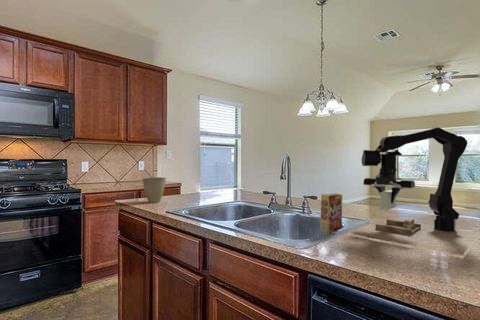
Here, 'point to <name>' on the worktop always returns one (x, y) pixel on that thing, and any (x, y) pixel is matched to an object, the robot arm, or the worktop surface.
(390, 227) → the rack
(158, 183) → the plant pot
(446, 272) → the worktop surface
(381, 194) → the pale grey rectangular block
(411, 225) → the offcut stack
